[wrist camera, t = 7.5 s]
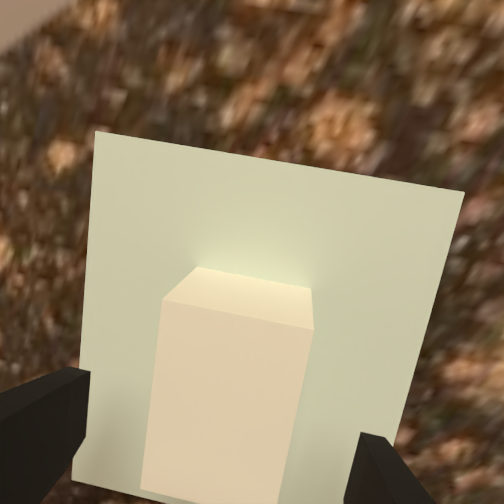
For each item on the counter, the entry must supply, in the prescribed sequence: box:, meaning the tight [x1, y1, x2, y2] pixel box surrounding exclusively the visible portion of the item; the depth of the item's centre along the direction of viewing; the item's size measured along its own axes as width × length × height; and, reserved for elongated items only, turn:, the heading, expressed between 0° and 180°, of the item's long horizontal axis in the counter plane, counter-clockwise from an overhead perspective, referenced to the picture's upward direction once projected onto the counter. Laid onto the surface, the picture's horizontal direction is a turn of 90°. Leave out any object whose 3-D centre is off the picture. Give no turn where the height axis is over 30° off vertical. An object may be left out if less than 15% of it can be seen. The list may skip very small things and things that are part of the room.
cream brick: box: [140, 267, 314, 504], centre depth 13 cm, size 6×4×4 cm, turn 171°
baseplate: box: [72, 131, 465, 504], centre depth 14 cm, size 14×12×1 cm
